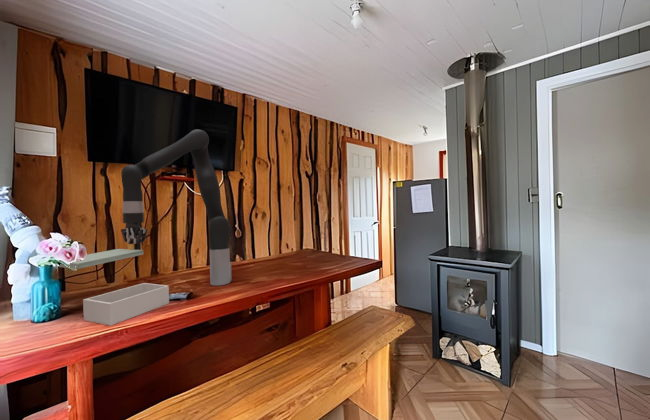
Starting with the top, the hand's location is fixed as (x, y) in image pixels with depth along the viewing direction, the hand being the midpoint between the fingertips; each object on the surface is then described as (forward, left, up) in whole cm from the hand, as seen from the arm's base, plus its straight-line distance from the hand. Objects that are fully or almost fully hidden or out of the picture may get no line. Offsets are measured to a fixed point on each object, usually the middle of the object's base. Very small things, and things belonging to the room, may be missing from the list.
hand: (134, 251), depth 118 cm
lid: (+11, 0, -1) cm, 11 cm away
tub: (+13, +16, -19) cm, 28 cm away
